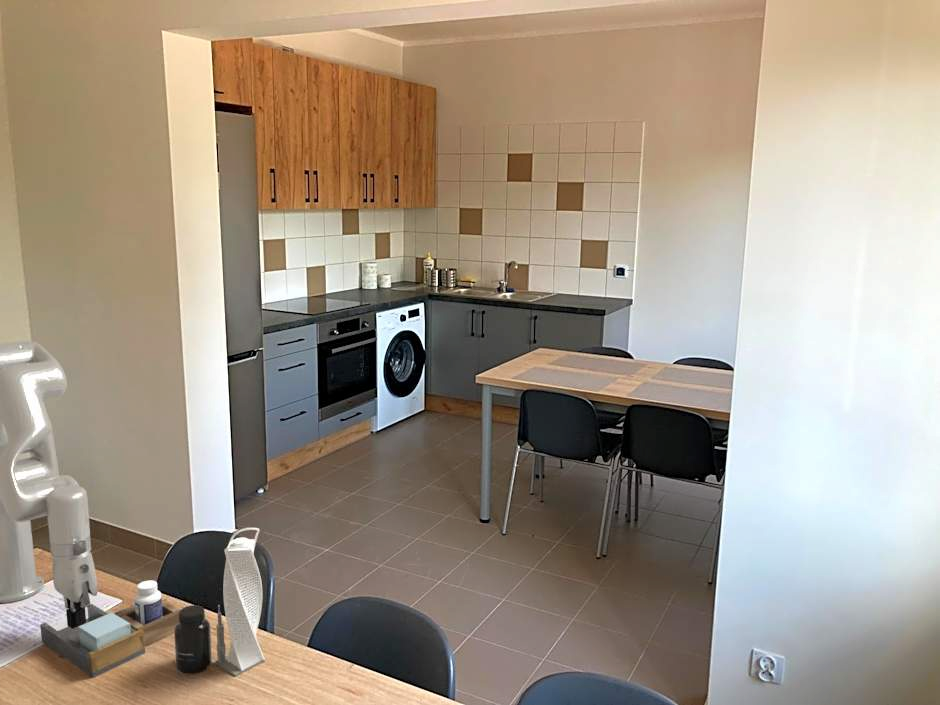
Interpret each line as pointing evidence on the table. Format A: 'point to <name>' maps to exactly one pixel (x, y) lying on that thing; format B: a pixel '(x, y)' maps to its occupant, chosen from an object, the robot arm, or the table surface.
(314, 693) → the table surface
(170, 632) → the open wooden box
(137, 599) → the pill bottle
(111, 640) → the pale teal block
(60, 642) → the bay
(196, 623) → the supplement bottle
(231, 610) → the skyscraper
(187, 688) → the table surface
